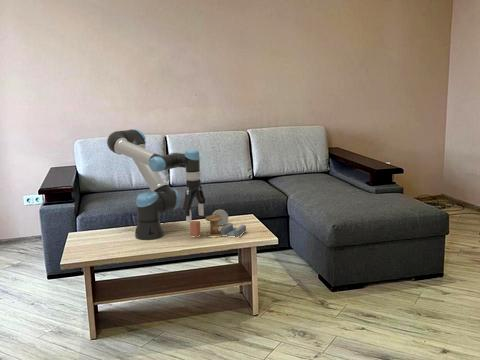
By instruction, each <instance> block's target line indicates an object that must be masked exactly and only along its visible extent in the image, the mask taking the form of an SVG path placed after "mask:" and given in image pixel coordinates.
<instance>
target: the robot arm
mask: <svg viewBox="0 0 480 360" xmlns="http://www.w3.org/2000/svg"><path fill="white" fill-rule="evenodd" d="M146 143H147V141H146V136H145V134H144V132H142V131H141V130H139V129H137V128H133V129H126V130H117V131H113V132H111V133H110V134H109V136H107V140H106V144H107V147H108V149H109V150H110V151H111V152H113V154H116V155H123V156H126V157H127V158H130V159H132V160H133V162H134V164H135V165H136V167H137V170H138V171H139V172H140V174H141V176H142V178H143V179H144V181H145V183H146V184H147V186H148V188H149V189H150V190H149V191H144V192H141V193H139V194H138V195H137V196H136V203H135V204H136V205H135V206H136V217H137V224H136V227H135V232H134V233H135V236H134V237H135V239H139V240H143V241H144V240H146V241H147V240H157V239H160V238H162V237H163V236H164V230H163V226H162V224H161V221H160V215H162V214H164V213H168V212H172V211H174V210H177V209H178V207H179V206H180V203H181V195H180V193H179V192H178V190H177V189H174V188H171V186H170V185H169V184H168V183H165V181H164V180H163V178H162V176H161V174H160V172H163V171H167V170H172V169H178V168H184V169H185V179H186V180H185V181H186V182H185V183H186V185H185V186H186V187H187V189H188V190H185V193H184V194H185V196H184V201H183V207H182V208H183V209H182V210H184V211H185V217H186V218H185V220H186V222H187V223H190V222H192V221H193V220H192V209H191V207H192V204H193V201H194V199H195V198H196V200H197V201H198V204H197V205H198V216H205V214H204V213H205V212H204V204H206V198H205V194H204V191H203V186H202V184H201V169H200V167H201V166H200V165H201V162H200V160H201V156H200V152H199V150H198V149H187V150H185V151H184V153H182V152H181V153H180V152H171V153H168V154H165V155H161V154H158V153H156V152H154V151H152V150H149V149H146V147H147V146H146Z"/></svg>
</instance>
